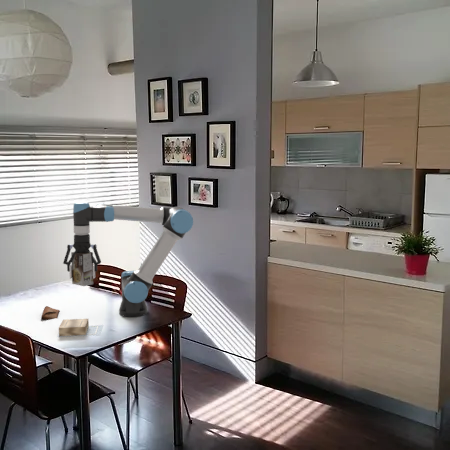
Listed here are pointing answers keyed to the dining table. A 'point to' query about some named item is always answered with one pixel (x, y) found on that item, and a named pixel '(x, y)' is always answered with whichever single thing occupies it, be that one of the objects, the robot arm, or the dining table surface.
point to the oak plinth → (73, 327)
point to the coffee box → (82, 269)
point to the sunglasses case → (49, 313)
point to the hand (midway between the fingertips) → (82, 277)
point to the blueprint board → (90, 331)
